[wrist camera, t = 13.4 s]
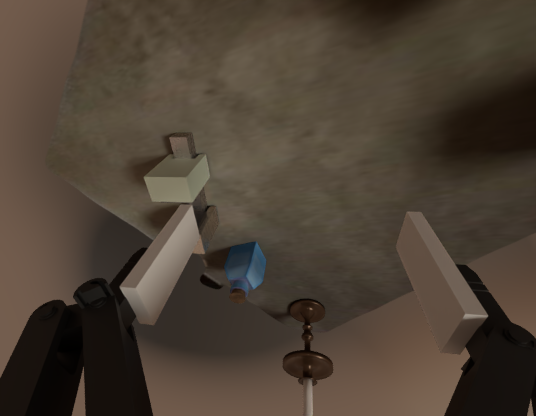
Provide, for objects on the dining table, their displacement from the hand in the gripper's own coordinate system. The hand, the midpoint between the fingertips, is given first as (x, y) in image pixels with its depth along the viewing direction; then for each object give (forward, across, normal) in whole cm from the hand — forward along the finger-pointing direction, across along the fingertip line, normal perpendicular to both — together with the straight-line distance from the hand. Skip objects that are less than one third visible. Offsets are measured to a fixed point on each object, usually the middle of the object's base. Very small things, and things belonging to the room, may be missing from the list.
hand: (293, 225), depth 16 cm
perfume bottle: (+29, -11, -31) cm, 44 cm away
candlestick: (+29, +3, -50) cm, 58 cm away
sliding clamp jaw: (+28, -20, -9) cm, 36 cm away
